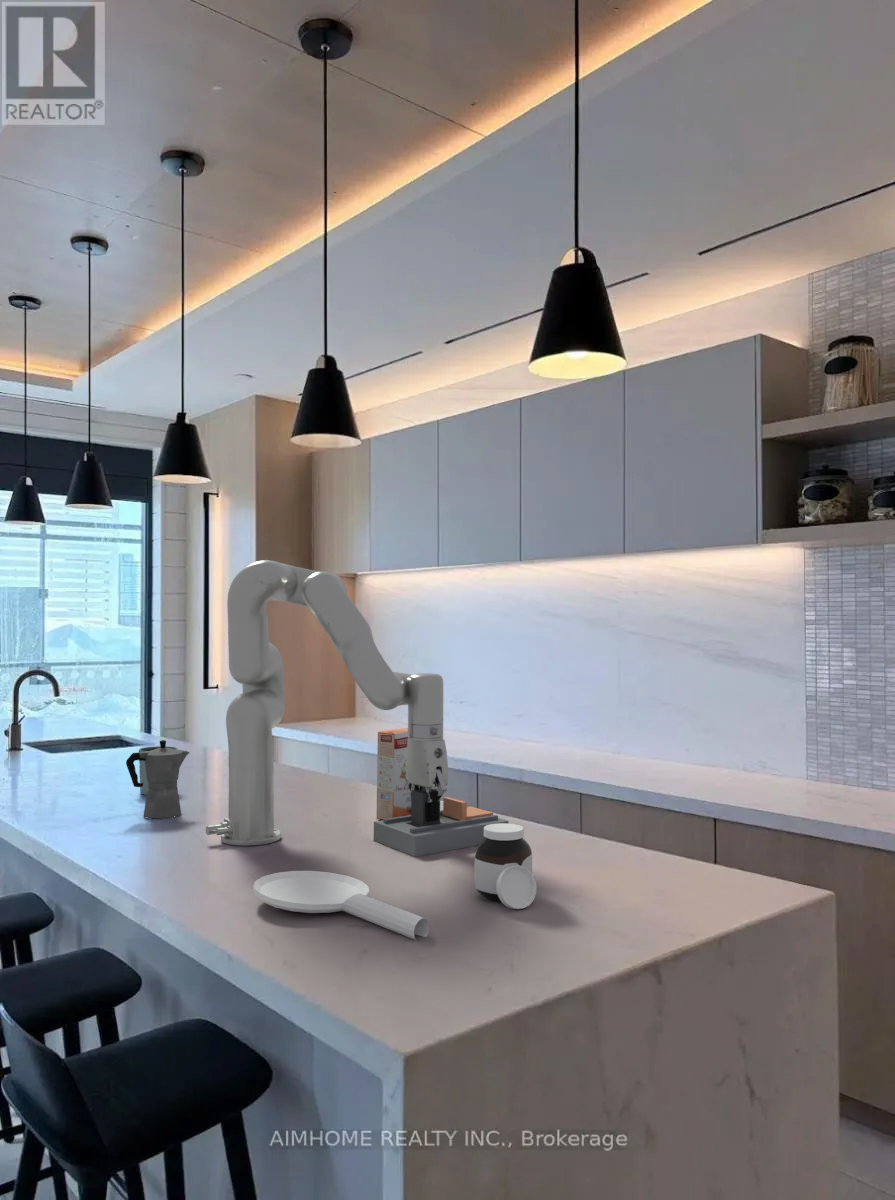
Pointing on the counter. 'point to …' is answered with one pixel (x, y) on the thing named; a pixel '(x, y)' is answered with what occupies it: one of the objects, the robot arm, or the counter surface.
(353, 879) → the frying pan
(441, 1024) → the counter surface
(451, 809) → the tan l-shaped bracket
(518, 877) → the spread jar
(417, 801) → the plug
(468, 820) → the socket block
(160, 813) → the coffeepot
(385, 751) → the cracker box
